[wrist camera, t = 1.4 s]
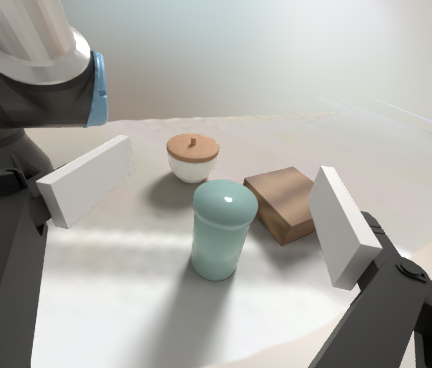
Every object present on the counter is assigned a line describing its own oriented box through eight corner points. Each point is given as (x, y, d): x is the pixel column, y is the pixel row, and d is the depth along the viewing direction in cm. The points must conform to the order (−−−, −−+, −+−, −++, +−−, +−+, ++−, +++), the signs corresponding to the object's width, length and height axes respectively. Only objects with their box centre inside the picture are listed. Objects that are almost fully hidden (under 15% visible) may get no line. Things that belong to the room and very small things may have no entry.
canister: (181, 247, 33) (183, 186, 25) (223, 232, 36) (236, 174, 29) (202, 292, 28) (211, 233, 20) (248, 270, 31) (271, 212, 24)
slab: (240, 197, 44) (244, 178, 41) (285, 184, 49) (293, 166, 46) (281, 246, 35) (291, 226, 32) (331, 223, 41) (344, 205, 38)
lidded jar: (212, 193, 44) (217, 154, 38) (161, 185, 44) (159, 145, 38) (217, 166, 52) (222, 130, 46) (174, 159, 52) (174, 123, 47)
